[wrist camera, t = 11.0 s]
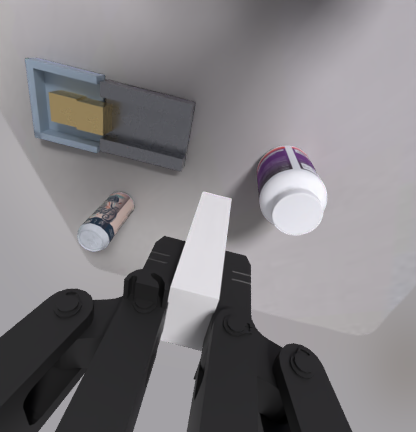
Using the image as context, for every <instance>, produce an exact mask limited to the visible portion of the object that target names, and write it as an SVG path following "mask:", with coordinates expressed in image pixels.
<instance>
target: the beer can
mask: <svg viewBox="0 0 416 432" xmlns="http://www.w3.org/2000/svg"><path fill="white" fill-rule="evenodd" d="M134 208H135V205H134V201H133V200H132V198H131V197H130V196H129V195H127V194H126V193H123V192H115V193H113V194H112V195H111V196H110V197H109V198H108V199H107V200H106V201H105V202H104V203H103V204H102V205H101V206H100V207H99V208H98V209H97V210H96V211H95V212H94V213H93V214H92V215H91V216H90V217H89V218H88V219H87V220H86V221H85V222H84V223H83V224H82V225H81V226H80V228H79V230H78V236H77V238H78V242H79V244H80V245H81V246H82V247H83V248H85V249H86V250H89V251H92V252H95V251H100V250H102V249H105V248H106V247H107V246H108V244H109V242H110V241H111V240H112V238H113V237H114V236H115V234H116V233H117V232H118V230H119V229H120V228H121V226H122V225H123V223H124V222H125V221H126V219H127V218H128V217H129V215H130V214H131V213H132V212H133V210H134Z"/></svg>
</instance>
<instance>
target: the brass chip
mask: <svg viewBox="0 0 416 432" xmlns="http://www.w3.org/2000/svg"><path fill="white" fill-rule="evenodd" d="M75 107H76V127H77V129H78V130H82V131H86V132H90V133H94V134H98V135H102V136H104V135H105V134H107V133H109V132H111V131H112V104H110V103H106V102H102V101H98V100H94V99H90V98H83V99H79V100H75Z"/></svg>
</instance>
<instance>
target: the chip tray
mask: <svg viewBox="0 0 416 432" xmlns="http://www.w3.org/2000/svg"><path fill="white" fill-rule="evenodd" d="M25 63H26V71H27V79H28V86H29V94H30V102H31V110H32V117H33V125H34V133H35V137H36V138H39V139H43V140H47V141H51V142H55V143H59V144H63V145H67V146H71V147H75V148H79V149H83V150H87V151H91V152H94V153H98V152H99V151H100V138H102V137H103V136H102V135H98V134H94V133H90V132H86V131H82V130H78V129H77V127H73V126H69V125H65V124H61V123H57V122H53V121H51V113H50V103H49V92H52V91H57V90H64V91H68V92H72V93H76V94H80V95H84V96H87V98H90V99H94V100H98V101H102V102H105V98H103V97H100V81H104V80H105V75H103V74H99V73H95V72H91V71H87V70H83V69H79V68H75V67H72V66H68V65H64V64H60V63H56V62H52V61H48V60H44V59H40V58H25Z"/></svg>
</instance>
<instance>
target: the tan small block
mask: <svg viewBox="0 0 416 432" xmlns="http://www.w3.org/2000/svg"><path fill="white" fill-rule="evenodd" d="M83 98H87V96H84V95H80V94H76V93H72V92H68V91H64V90H57V91H52V92H49V103H50V113H51V121H53V122H57V123H61V124H65V125H69V126H73V127H76V107H75V100H79V99H83Z"/></svg>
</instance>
